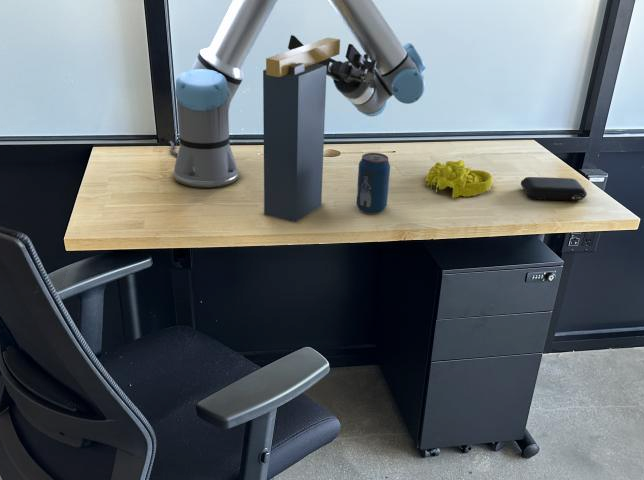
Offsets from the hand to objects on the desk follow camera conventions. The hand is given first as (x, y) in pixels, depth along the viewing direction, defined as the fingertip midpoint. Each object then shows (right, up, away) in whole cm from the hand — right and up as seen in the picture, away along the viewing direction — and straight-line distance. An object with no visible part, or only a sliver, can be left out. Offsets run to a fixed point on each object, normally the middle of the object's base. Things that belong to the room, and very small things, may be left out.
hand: (319, 46), depth 155 cm
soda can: (+11, -31, +14) cm, 36 cm away
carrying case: (+56, -25, +26) cm, 67 cm away
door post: (-6, -32, +11) cm, 34 cm away
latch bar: (-3, -5, -3) cm, 7 cm away
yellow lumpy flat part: (+34, -21, +29) cm, 50 cm away
